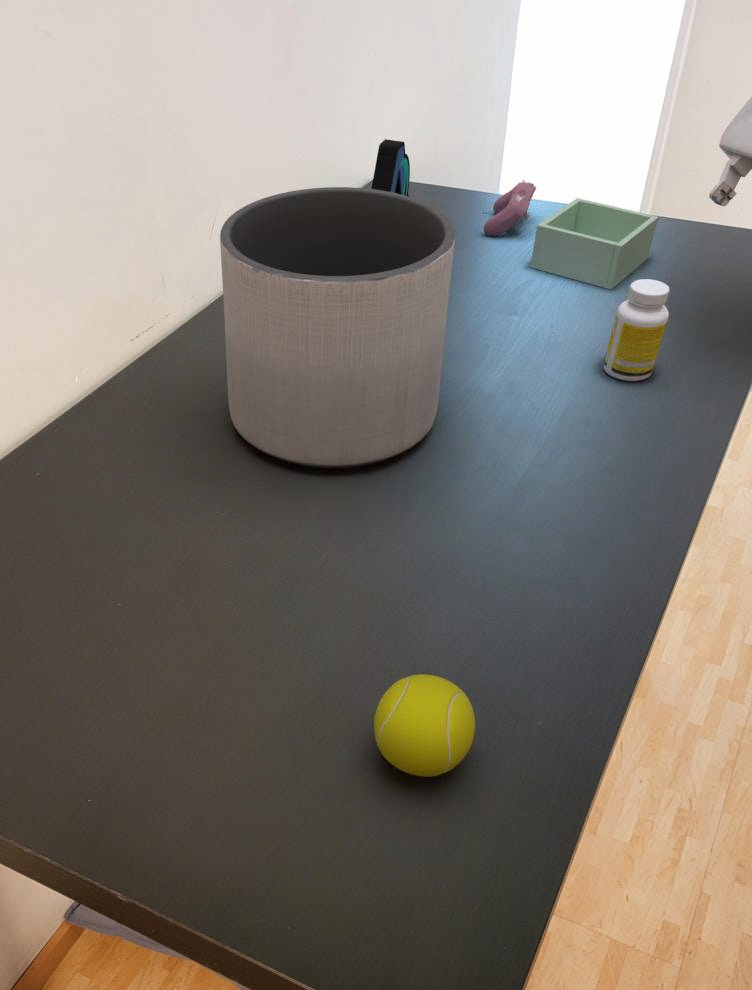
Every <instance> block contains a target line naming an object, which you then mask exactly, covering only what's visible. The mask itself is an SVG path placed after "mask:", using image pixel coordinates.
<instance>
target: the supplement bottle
mask: <svg viewBox="0 0 752 990" xmlns="http://www.w3.org/2000/svg"><path fill="white" fill-rule="evenodd" d="M669 293H670V287H669V285H667V284H666V283H664V282H662V281H660V280H656V279H651V278H643V279H636V280H633V281H632V282H631V283H630V286H629V289H628V294H627V299H626V300H624V301H623V302H621V303H619V304H620V305H619V306H618V307H617V310H616V313H615V317H614V322H613V325H612V328H611V333H610V337H609V340H608V343H607V350H606V352H605V357H604V361H603V370H604V371H605V373H606V374H608V375H609V376H610V377H612V378H614V379H617V380H620V381H624V382H638V381H643V380H646V379H648V378H649V377H650V376H651V375H652V373H653V372H654V369H655V366H656V361H657V359H658V354H659V352H660V348H661V345H662V341H663V337H664V334H665V331H666V329H667V325H668V320H669V317H670V316H669V315H670V314H669V313H670V312H669V310H668V307H666V303H667V301H668V297H669Z"/></svg>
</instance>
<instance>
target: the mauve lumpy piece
mask: <svg viewBox="0 0 752 990" xmlns="http://www.w3.org/2000/svg"><path fill="white" fill-rule="evenodd" d="M536 190H537V187H536V186H535V184H534V183H532V182H530V181H527V182H526V181H525V179H523V180H522V181H521V182H518V183H517V184H516V185H515V186H514V187H512V189H510V190H509V191H507V192H505V193H504V194H502V195H500V196H499V197H498V198H497V199H496V200H495V202H494V203H493V206H492V210H493V212H494V213H495V215H494V216H492V217H490V218H489V219H488V220H487V221H486V222H485V224H484V225H483V232H484V234H485V235H486V236H488V237H489V236H490V237H492V236H499V235H502V234H504V233H505V232H507V231H509V232H511V231H512V230H513V229H514V228H515V227H516V226H517V225H518V224H519V222H521V221H522V220H523V221H527V219H529V216H530V212H528V210H529V207H530V205H531V202H530V201H531V200H532V198H533V196H534V194H535V192H536Z"/></svg>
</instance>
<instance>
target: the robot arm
mask: <svg viewBox="0 0 752 990" xmlns="http://www.w3.org/2000/svg"><path fill="white" fill-rule="evenodd" d="M718 146H719V148H720V150H721V151H722V152H723V153H724V154H725V156H726V157H728V158H729V160H727V161H726V163H725V165H724V168H723V171H722V173H721V175H720V178H719V180H718V182H717V183H716V185H715V186H714V187H713V188H712V189H711V191H710V192H709V195H708V197H709V199H710V200H711V201H712V202H713V203H714V204H715V205H718V206H721V207H726V206H728V204H729V203H730V201H731V200H733V198H735V196H736V195H737V192H736V191H735V189H736V188H737V185H738V183H739V182H740V180H741V178H746V177H747V176H748V174H749V173H750V172H751V171H752V96H751V97H750V98H749V99H748V100H747V102H746V103H744V105H743V107H741V109H740V110H739V111H738V112H737V114H735V116H734V118H733V119H732V120H731V121H730V122H729V124H728V125H727V127H726V128H725V129H724V131H723V133H722V134H721V137H720V141H719V145H718Z"/></svg>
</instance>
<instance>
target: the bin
mask: <svg viewBox="0 0 752 990" xmlns="http://www.w3.org/2000/svg"><path fill="white" fill-rule="evenodd" d="M658 221H659V216H657V215H652V214H649V213H643V212H639V211H636V210H630V209H626V208H623V207H619V206H613V205H609V204H606V203H600V202H596V201H592V200H588V199H583V198H579V197H576V198H575V199H573V200H572V201H571V202H569V203H568V204H566V205H565V206H563V207H562V208H560V209H559V210H558V211H555V212H554V213H553V214H551V215H550V216H548V217H547V218H546V219H544V220H542V221H541V222H540V223H538V224H537V225H536V231H535V237H534V242H533V247H532V249H533V250H532V253H531V259H530V266H529V267H530V268H531V269H535V270H538V271H542V272H544V273H545V272H546V273H550V274H552V275H557V276H561V277H564V278H567V279H571V280H574V281H579V282H582V283H585V284H586V283H587V284H589V285H593V286H596V287H600V288H604V289H607V290H613V289H614V288H615V287H616V286H618V284H620V283H621V282H622V281H623V280H624V279H626V278H628V276H630V275H631V274H632V273H633V272H634V271H635V270H636V269H638V268H639V267H640V266H641V265H643V264H644V263H645V262H646V261H647V260H648V259H649V255H650V251H651V247H652V243H653V239H654V237H655V232H656V229H657V224H658Z"/></svg>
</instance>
